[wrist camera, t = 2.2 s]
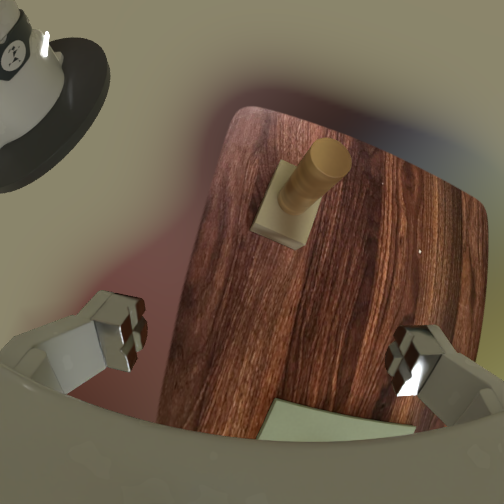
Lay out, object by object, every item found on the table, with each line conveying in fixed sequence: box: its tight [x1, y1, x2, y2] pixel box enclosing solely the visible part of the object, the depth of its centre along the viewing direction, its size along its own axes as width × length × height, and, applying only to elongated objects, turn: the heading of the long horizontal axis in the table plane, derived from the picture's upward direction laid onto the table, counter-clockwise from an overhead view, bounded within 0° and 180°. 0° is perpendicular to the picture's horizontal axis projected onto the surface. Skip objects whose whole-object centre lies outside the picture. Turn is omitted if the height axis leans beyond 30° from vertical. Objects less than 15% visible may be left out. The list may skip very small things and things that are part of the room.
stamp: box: [250, 138, 351, 250], centre depth 24 cm, size 5×7×12 cm
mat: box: [256, 398, 416, 442], centre depth 25 cm, size 20×18×1 cm
